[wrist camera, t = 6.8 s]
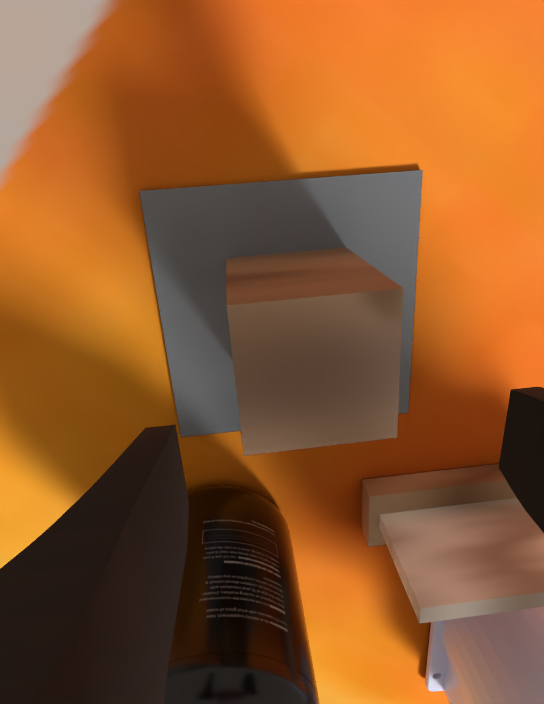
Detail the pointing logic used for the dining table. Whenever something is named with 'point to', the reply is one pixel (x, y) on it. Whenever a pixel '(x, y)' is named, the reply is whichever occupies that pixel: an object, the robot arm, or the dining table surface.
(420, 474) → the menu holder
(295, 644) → the supplement bottle
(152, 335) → the dining table surface
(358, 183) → the coaster
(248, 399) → the walnut block
